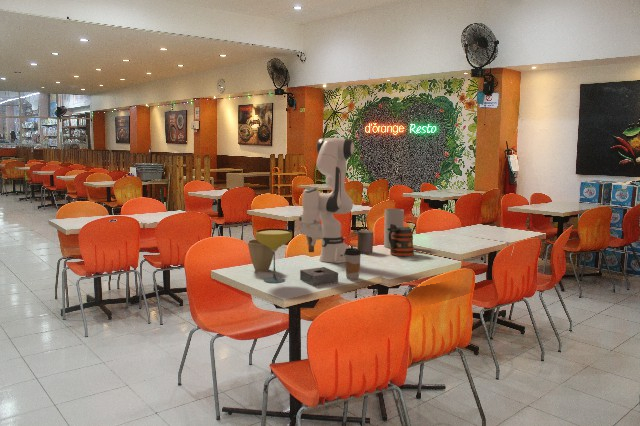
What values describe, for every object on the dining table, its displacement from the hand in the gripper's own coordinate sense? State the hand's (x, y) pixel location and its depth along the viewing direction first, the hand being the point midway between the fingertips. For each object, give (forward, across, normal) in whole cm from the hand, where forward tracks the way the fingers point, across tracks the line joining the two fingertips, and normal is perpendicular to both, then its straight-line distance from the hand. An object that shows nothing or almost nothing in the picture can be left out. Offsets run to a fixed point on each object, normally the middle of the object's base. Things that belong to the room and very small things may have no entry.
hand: (311, 244), depth 281 cm
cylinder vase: (+18, +38, -82) cm, 92 cm away
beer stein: (+18, +16, -70) cm, 74 cm away
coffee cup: (+15, -20, -13) cm, 28 cm away
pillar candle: (+17, +32, -55) cm, 66 cm away
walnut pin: (+4, 0, 0) cm, 4 cm away
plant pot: (+15, +18, +21) cm, 32 cm away
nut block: (+15, -17, +5) cm, 23 cm away
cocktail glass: (+15, -5, +24) cm, 28 cm away
